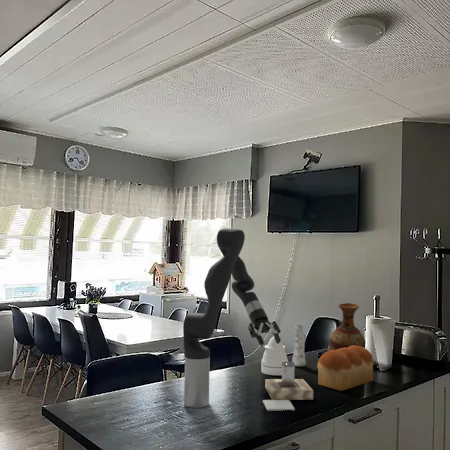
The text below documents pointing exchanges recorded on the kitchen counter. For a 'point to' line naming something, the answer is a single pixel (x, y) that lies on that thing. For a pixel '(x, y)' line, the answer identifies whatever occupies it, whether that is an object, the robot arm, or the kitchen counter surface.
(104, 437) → the kitchen counter surface
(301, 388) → the frame
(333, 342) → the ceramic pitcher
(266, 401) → the grey rubber pad
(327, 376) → the bread
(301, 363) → the plastic bottle
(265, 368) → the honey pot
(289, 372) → the steel plug
